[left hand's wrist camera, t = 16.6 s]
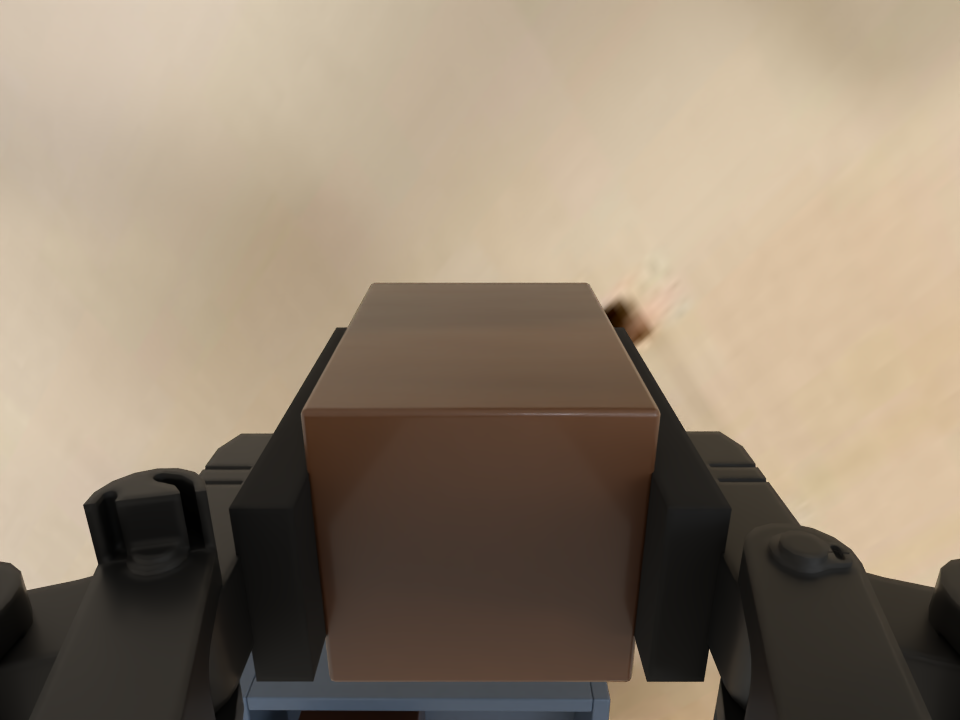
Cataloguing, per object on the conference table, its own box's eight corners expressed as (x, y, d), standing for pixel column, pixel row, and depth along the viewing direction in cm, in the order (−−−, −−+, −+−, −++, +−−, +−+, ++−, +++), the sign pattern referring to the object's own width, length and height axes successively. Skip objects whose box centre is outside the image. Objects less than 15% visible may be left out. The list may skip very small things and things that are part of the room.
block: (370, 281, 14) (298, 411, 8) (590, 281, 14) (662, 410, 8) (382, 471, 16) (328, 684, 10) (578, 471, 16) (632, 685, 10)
